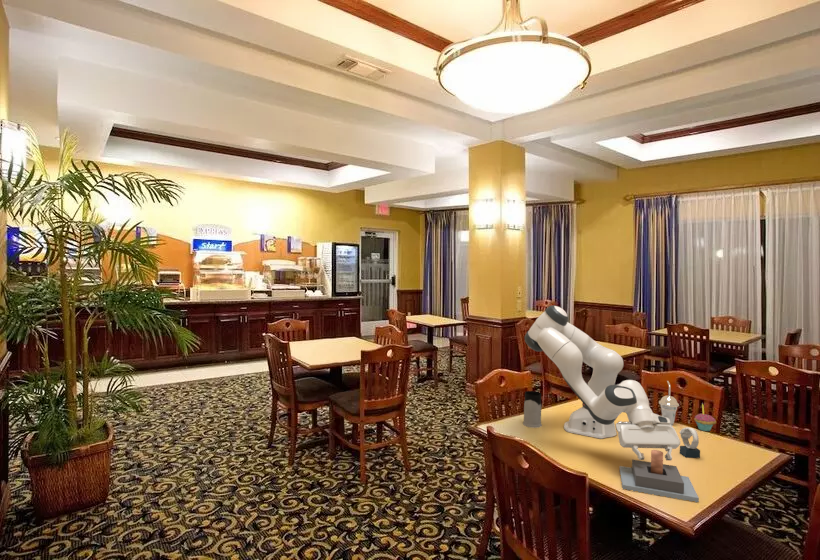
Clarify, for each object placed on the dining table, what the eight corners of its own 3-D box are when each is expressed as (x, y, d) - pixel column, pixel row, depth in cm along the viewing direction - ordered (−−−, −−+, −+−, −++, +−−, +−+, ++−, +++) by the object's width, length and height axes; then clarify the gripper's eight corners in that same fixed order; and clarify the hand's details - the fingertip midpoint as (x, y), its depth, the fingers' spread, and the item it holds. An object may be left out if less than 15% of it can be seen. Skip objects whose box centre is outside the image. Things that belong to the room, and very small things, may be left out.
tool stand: (622, 489, 153) (622, 474, 152) (619, 469, 167) (619, 456, 167) (698, 502, 144) (699, 487, 144) (688, 481, 159) (688, 467, 159)
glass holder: (520, 425, 214) (521, 393, 213) (529, 417, 226) (530, 387, 225) (538, 429, 209) (539, 396, 209) (547, 420, 221) (547, 390, 221)
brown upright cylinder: (649, 480, 156) (650, 452, 155) (652, 477, 158) (652, 449, 158) (661, 484, 153) (661, 455, 153) (663, 480, 156) (664, 451, 156)
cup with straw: (655, 423, 219) (656, 382, 218) (662, 419, 225) (663, 379, 225) (674, 428, 213) (676, 386, 212) (681, 424, 219) (682, 383, 218)
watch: (690, 451, 186) (691, 425, 185) (702, 460, 178) (703, 432, 177) (676, 451, 186) (677, 424, 186) (688, 459, 178) (689, 431, 178)
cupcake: (689, 426, 216) (690, 401, 216) (706, 426, 217) (707, 401, 217) (702, 432, 208) (703, 406, 207) (720, 432, 208) (721, 406, 208)
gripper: (616, 417, 165) (628, 455, 155) (673, 418, 164) (688, 456, 155) (611, 425, 170) (622, 462, 160) (666, 426, 169) (681, 463, 160)
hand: (655, 459), depth 157 cm, fingers open, 8 cm apart
